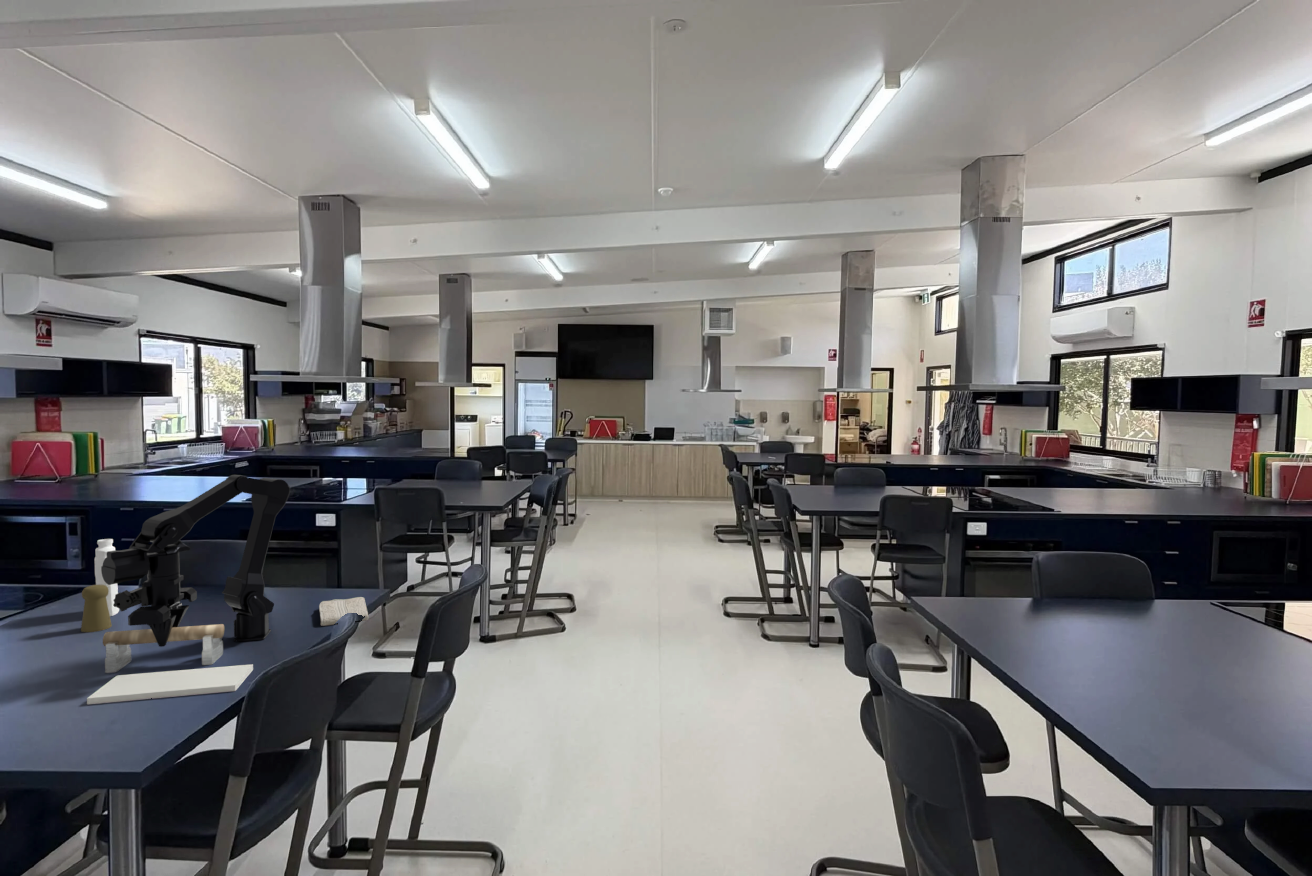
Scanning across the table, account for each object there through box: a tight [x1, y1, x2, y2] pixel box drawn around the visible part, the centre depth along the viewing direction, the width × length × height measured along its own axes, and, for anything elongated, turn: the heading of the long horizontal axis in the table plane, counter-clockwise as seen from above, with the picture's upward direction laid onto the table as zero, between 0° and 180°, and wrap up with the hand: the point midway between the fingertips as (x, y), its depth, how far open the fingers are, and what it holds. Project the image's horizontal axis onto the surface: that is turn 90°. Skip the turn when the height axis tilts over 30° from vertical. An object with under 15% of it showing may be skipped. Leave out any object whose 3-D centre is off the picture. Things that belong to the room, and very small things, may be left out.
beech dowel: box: [102, 623, 225, 647], centre depth 146 cm, size 22×3×3 cm, turn 105°
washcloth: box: [318, 596, 370, 627], centre depth 182 cm, size 12×18×3 cm, turn 29°
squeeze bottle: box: [94, 538, 120, 617], centre depth 180 cm, size 10×20×5 cm
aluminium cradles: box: [104, 635, 224, 674], centre depth 146 cm, size 20×6×6 cm, turn 105°
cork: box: [80, 584, 112, 633], centre depth 168 cm, size 6×6×11 cm
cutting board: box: [86, 663, 254, 705], centre depth 135 cm, size 25×11×1 cm, turn 105°
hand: (165, 643), depth 146 cm, fingers closed on beech dowel, 3 cm apart
